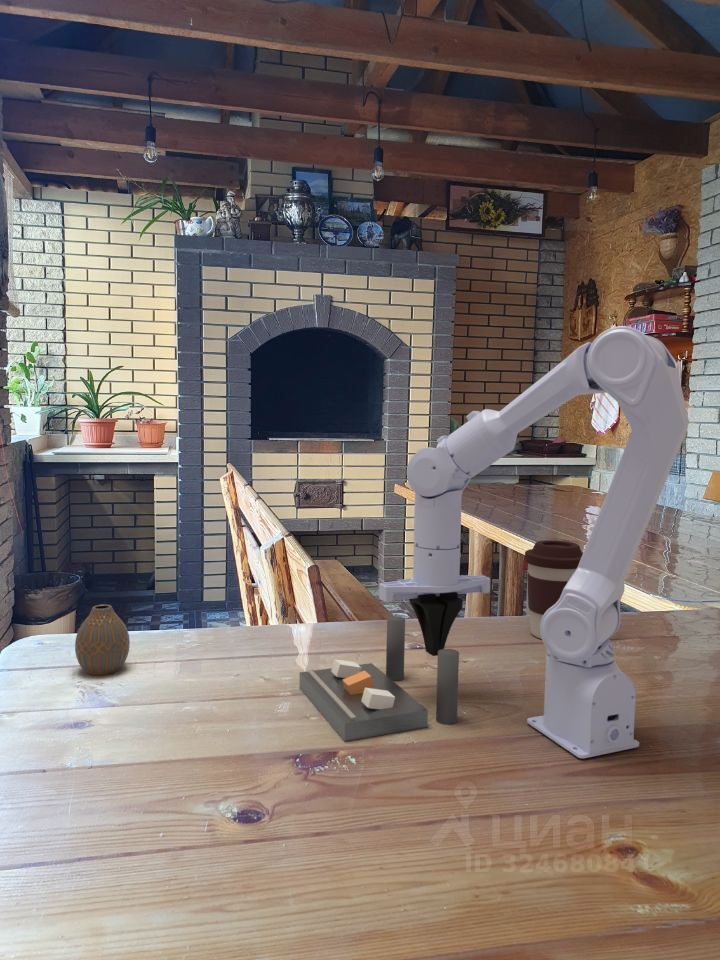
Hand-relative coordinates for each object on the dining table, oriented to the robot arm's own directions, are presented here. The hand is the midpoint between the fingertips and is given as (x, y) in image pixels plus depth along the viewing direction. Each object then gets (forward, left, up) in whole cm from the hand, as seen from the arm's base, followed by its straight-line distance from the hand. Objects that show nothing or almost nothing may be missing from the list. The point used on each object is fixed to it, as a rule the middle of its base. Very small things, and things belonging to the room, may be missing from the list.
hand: (434, 653), depth 88 cm
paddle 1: (+5, +10, -3) cm, 12 cm away
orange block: (0, +10, -3) cm, 11 cm away
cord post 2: (-7, +2, -5) cm, 9 cm away
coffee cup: (+15, -30, -6) cm, 34 cm away
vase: (+23, +38, -6) cm, 45 cm away
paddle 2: (-5, +10, -3) cm, 12 cm away
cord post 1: (+7, +2, -5) cm, 9 cm away
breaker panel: (0, +10, -5) cm, 11 cm away
